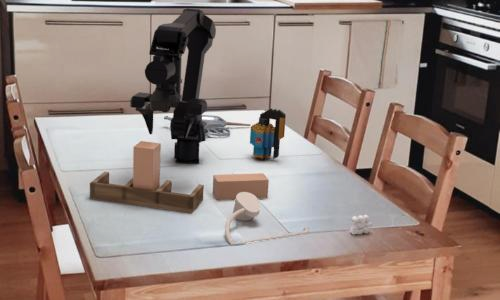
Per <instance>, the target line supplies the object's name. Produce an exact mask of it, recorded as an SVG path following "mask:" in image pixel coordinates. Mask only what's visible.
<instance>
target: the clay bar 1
mask: <svg viewBox="0 0 500 300" xmlns="http://www.w3.org/2000/svg"><path fill="white" fill-rule="evenodd" d="M161 147H162V143H160V142H154V141H153V142H151V141H143V140H140V141H139V142H138V143H137V144H135V145H134V146H133V151H132V152H133V157H132V158H133V162H132V165H133V167H132V171H133V172H132V178H133V187H134V188H141V189H148V190H157V189H158V188H159V187H160V186H161V149H162V148H161Z"/></svg>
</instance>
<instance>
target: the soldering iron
mask: <svg viewBox="0 0 500 300" xmlns="http://www.w3.org/2000/svg"><path fill="white" fill-rule="evenodd" d="M172 118H173V117H170V116H169V115H165V116H164V117H163V119H164V120H168V121H170V122H171V119H172ZM202 122H203V125H204V128H205V130H206V133H205V134H206V136H205V139H208V137H207V136H208V135H211V136H215V137H227V136H229V135H230V134H231V130H230V129H228V128H227V127H226V126H242V127H251V126H252V125H251V124H250V123H240V122H229V121H227V120H225V119H224V118H222V117H221V116H218V115H212V114H211V115H208V114H207V115H206V114H202ZM223 132H225V133H223Z"/></svg>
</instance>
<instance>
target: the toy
mask: <svg viewBox="0 0 500 300" xmlns="http://www.w3.org/2000/svg"><path fill="white" fill-rule="evenodd" d="M271 120H274V121H275V122H274V123H275V125H273V124H272V123H270V122H271ZM285 129H286V113H284V111H282V110H281V109H276V108H274V109H273V108H271V107H270V108H269V109H267V110H265V111H263V112H262V113H260V115H259V117H258V122H256V123H254V124H252V125H251V126H250V134H249V135H250V136H249V144H250V145H252V146H253V152H252V155H253V156H255V158H256V159H257V160H261V161H265V160H267V159H269V158H270V157H272V160H275V159H276V158H278V157H279V155H280V142H281V141H280V140H281V139H283V138H285ZM272 148H273V153H272ZM272 155H273V156H272Z"/></svg>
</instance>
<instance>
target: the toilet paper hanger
mask: <svg viewBox="0 0 500 300" xmlns="http://www.w3.org/2000/svg"><path fill="white" fill-rule="evenodd" d="M260 210H261V205H260V202H259V198H257V197H256V196H255V195H253V194H251V193H248V192H240V193H238V194H237V196H236V199H234V207H233V211H232V214H231V215H229V217H228V218H227V220H226V222H225V226H224V233H225V238H226V240H227V242H228V244H229V243H233V244H237V243H243V242H245V243H247V242H254V241H261V242H263V241H262V240H267V241H270V240H269V239H273V240H277V239H276V238H279V239H283V238H282V237H285V238H288V237H287V236H291V237H294V236H293V235H297V236H299V235H298V234H302V233H306V232H308V231H309V232H310V229H309V228H308V227H307V226H304V227H303V231H298V232H292V233H286V234H279V235H274V236H268V237H262V238H260V237H259V238H255V239H249V240H243V241H236V242H235V241H233V240H234V239H232V236H231V234H230V228H231V223H232V221H233V220H234V219H235V220H237V221H250V220H252V219H253V218H255V217H258V215H259V214H260V212H261V211H260ZM304 230H305V231H304Z"/></svg>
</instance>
